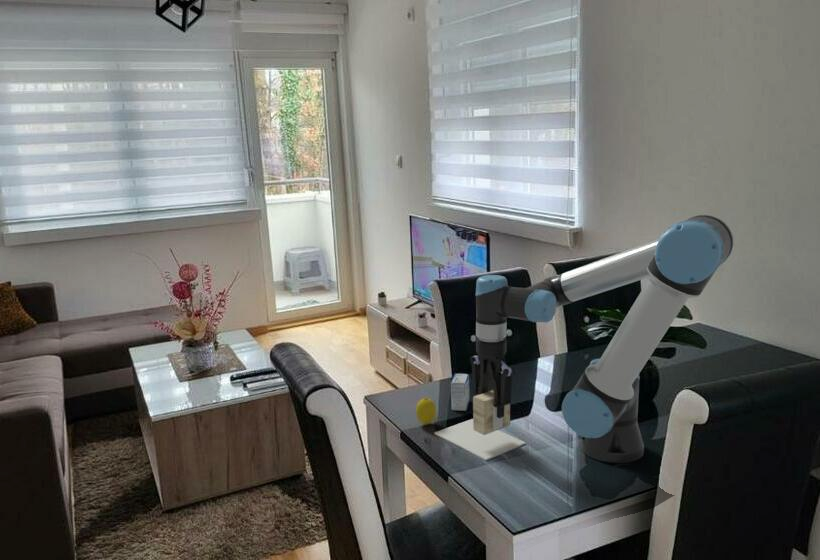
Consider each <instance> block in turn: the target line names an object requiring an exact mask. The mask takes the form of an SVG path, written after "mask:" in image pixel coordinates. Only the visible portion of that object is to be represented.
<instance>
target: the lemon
mask: <svg viewBox="0 0 820 560" xmlns="http://www.w3.org/2000/svg"><path fill="white" fill-rule="evenodd" d="M415 414H416V418H417V420H418V421H419V422H420V423H422V424H424V425H425V426H428V425H429V424H430V423H433V421H434V420H435V418H436V416H437V407H436V405H435V402H434V401H433V400H432V399H430V398H428V397H424V398H422V399H420V400H419V401H418V402H417V404H416V408H415Z"/></svg>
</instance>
